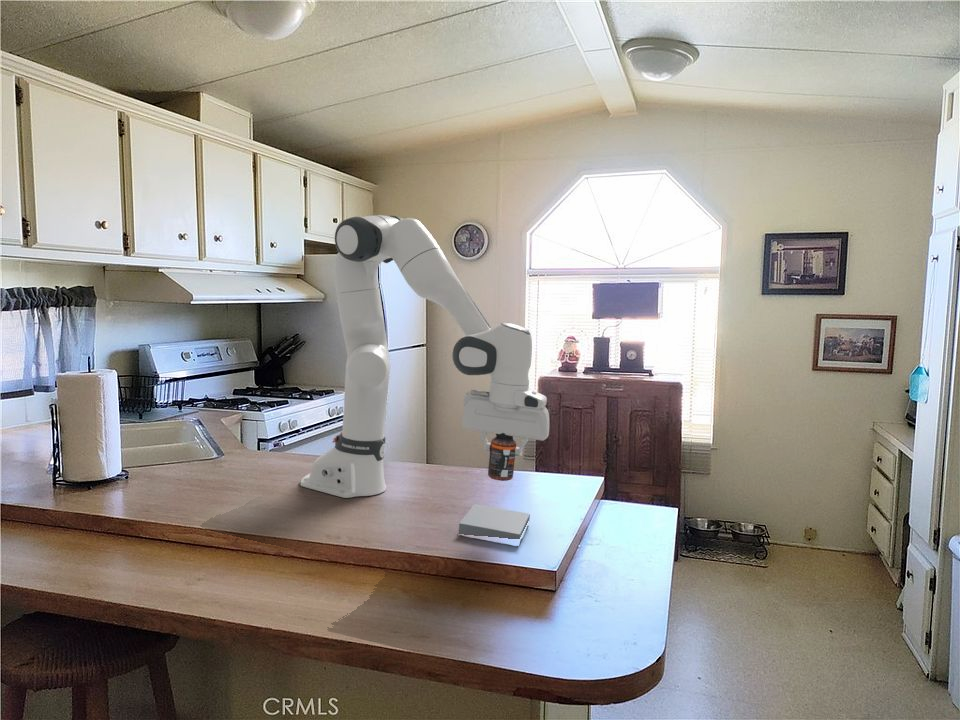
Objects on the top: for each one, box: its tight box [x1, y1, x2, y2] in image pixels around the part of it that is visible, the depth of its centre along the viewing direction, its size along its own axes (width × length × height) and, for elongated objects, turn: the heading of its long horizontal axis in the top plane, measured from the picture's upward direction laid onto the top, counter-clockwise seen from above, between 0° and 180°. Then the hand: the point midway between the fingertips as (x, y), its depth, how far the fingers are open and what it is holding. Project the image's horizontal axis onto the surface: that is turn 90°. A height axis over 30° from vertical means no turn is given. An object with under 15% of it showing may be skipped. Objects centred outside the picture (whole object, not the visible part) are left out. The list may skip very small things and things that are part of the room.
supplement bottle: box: [487, 433, 517, 482], centre depth 149 cm, size 6×6×11 cm
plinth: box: [457, 503, 531, 539], centre depth 151 cm, size 14×14×3 cm
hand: (502, 453), depth 149 cm, fingers closed on supplement bottle, 6 cm apart
